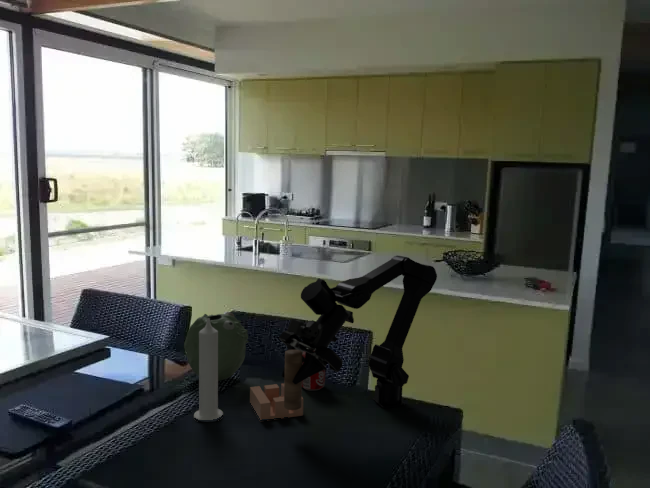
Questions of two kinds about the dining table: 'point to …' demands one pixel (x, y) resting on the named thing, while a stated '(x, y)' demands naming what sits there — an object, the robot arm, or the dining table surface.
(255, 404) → the holder
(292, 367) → the peg
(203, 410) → the candle
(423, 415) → the dining table surface
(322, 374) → the soda can
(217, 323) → the green round vase
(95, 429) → the dining table surface
